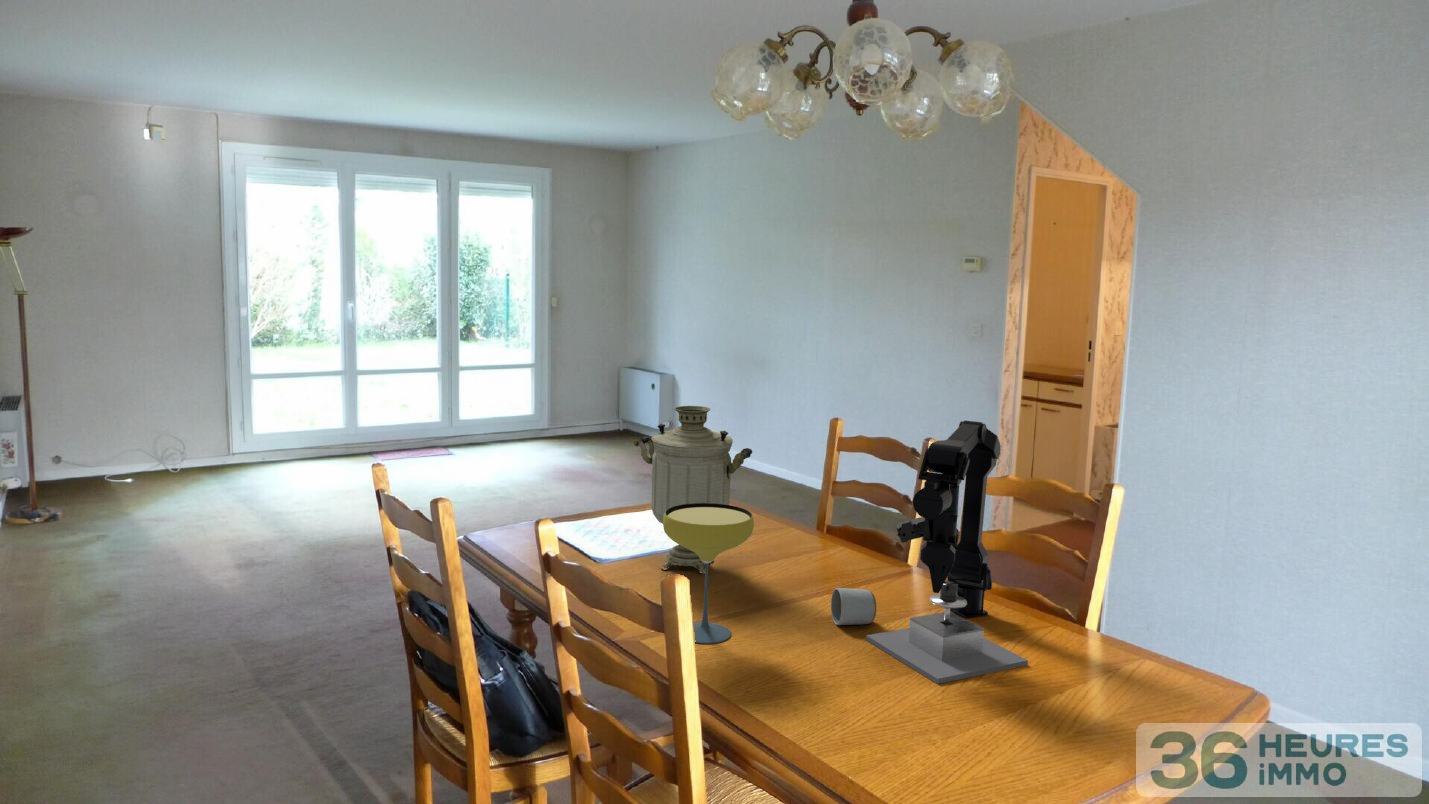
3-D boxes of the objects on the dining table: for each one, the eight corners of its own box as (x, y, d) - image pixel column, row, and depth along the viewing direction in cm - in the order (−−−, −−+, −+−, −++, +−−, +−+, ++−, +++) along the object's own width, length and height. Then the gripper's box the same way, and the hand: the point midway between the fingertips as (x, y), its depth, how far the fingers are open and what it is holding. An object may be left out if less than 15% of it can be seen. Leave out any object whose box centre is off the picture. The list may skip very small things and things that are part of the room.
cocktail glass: (647, 623, 191) (650, 505, 188) (727, 613, 198) (731, 500, 195) (679, 656, 175) (682, 528, 171) (764, 644, 182) (769, 521, 179)
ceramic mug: (877, 629, 192) (879, 593, 192) (840, 630, 191) (841, 594, 190) (860, 611, 203) (861, 578, 202) (824, 613, 201) (826, 579, 200)
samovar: (771, 562, 236) (778, 407, 231) (717, 589, 214) (723, 419, 209) (676, 541, 252) (680, 396, 246) (616, 564, 230) (619, 405, 224)
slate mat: (950, 625, 196) (951, 620, 196) (1027, 665, 176) (1028, 660, 176) (865, 640, 186) (866, 635, 186) (937, 684, 167) (937, 678, 166)
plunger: (948, 617, 185) (951, 576, 184) (972, 629, 179) (975, 587, 178) (920, 621, 182) (923, 580, 181) (944, 634, 176) (947, 591, 175)
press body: (947, 634, 188) (949, 611, 187) (982, 653, 179) (984, 628, 178) (908, 641, 183) (910, 617, 183) (941, 661, 174) (943, 635, 174)
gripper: (905, 493, 190) (900, 566, 192) (895, 514, 172) (890, 595, 174) (960, 499, 187) (955, 573, 189) (957, 521, 169) (951, 602, 171)
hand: (937, 585), depth 181 cm, fingers open, 9 cm apart
